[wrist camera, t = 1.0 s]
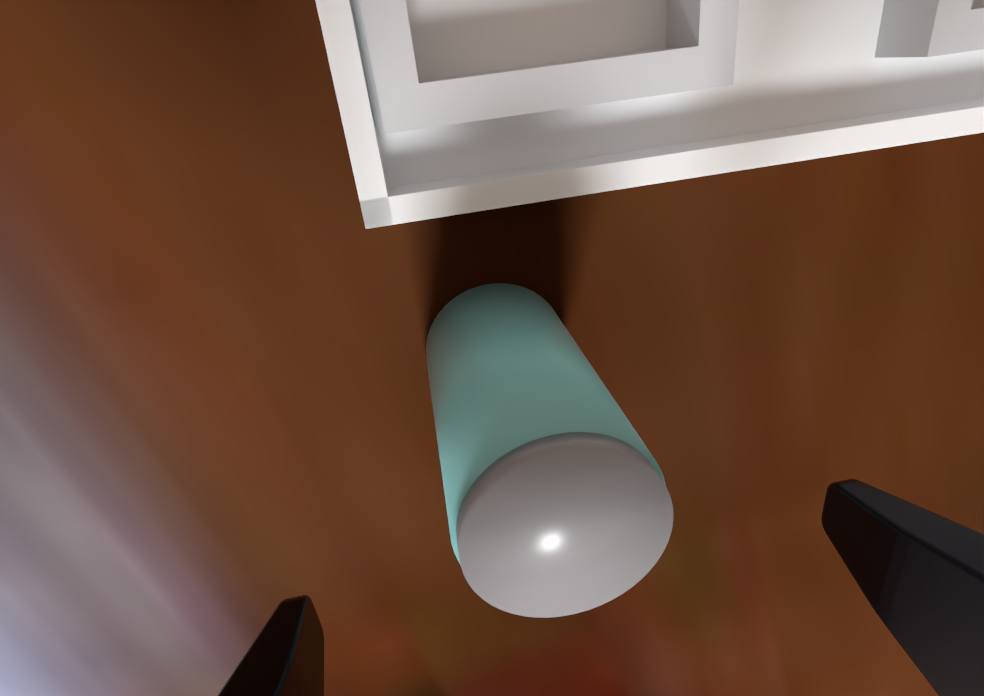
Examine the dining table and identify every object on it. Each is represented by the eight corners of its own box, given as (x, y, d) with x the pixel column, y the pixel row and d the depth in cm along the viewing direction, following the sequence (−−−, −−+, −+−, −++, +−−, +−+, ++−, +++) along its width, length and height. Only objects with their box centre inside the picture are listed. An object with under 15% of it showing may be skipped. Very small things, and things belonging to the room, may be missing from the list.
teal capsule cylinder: (558, 271, 16) (683, 423, 9) (566, 394, 18) (675, 594, 11) (414, 296, 15) (435, 472, 9) (437, 419, 17) (469, 640, 11)
